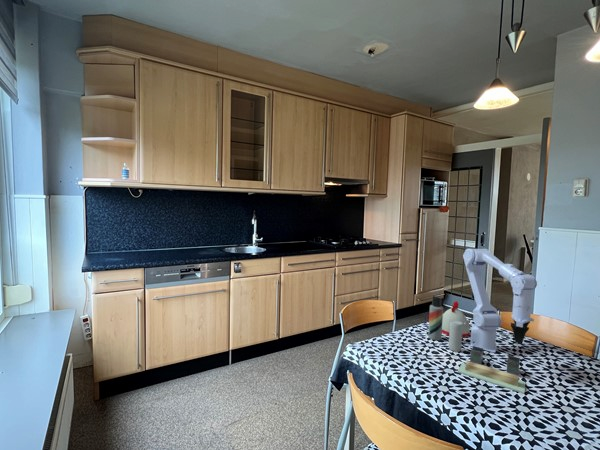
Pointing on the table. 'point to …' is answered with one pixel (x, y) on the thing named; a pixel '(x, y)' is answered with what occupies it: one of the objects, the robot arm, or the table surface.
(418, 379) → the table surface
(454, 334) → the beverage can
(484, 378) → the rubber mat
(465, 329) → the kitchen timer
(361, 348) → the table surface
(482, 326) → the robot arm
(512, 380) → the oak rail
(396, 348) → the table surface
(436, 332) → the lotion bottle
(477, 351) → the cradle stands
